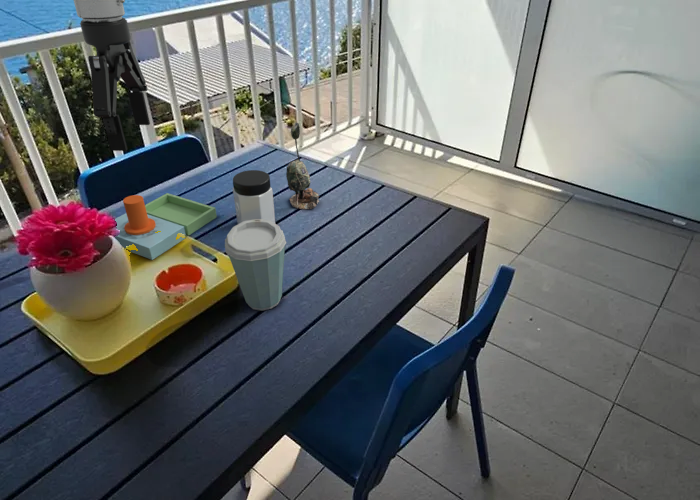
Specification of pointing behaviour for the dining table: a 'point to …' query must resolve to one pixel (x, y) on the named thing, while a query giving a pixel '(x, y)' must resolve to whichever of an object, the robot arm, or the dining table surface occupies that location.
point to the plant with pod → (300, 179)
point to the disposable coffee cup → (258, 261)
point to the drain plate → (150, 237)
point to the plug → (137, 216)
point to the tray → (181, 212)
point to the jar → (253, 196)
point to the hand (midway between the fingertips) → (131, 136)
